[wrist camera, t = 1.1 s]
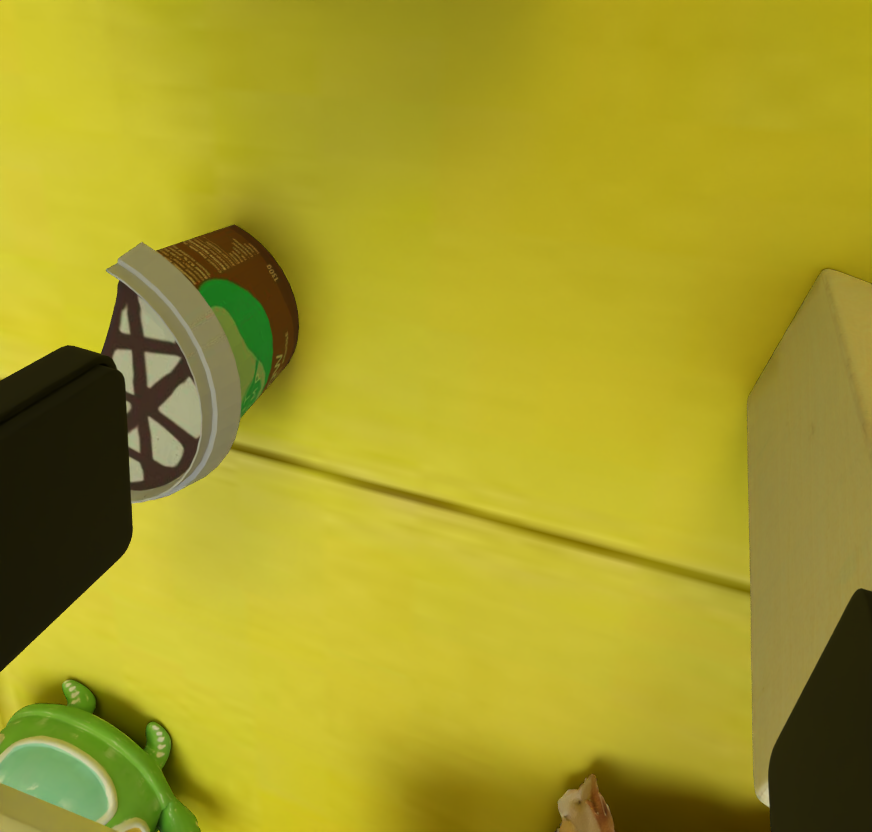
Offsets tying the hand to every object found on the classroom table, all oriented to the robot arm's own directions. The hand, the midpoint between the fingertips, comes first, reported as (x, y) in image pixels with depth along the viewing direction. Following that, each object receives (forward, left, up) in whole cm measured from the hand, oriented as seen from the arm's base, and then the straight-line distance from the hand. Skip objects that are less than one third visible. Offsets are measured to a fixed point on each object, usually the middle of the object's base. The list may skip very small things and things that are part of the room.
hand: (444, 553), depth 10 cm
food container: (+20, 0, -27) cm, 33 cm away
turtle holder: (+50, +24, -27) cm, 62 cm away
